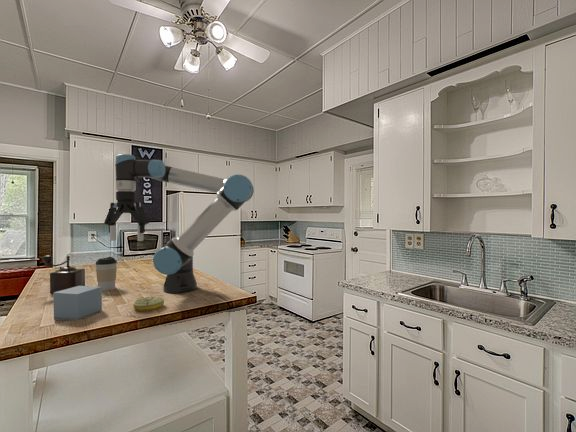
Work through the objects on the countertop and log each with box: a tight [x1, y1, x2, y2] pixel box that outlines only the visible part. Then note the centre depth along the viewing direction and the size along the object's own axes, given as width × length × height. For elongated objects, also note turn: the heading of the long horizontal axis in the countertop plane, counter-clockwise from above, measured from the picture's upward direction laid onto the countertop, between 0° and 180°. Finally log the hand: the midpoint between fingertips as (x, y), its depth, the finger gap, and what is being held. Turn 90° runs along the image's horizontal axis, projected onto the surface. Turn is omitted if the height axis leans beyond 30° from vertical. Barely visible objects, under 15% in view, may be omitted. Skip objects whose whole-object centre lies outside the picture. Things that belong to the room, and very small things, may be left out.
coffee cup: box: [95, 256, 118, 292], centre depth 146 cm, size 9×9×15 cm
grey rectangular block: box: [52, 285, 103, 320], centre depth 110 cm, size 10×10×9 cm
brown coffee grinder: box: [41, 254, 86, 294], centre depth 142 cm, size 16×11×18 cm
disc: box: [53, 310, 102, 322], centre depth 110 cm, size 14×14×1 cm
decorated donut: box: [132, 296, 165, 313], centre depth 116 cm, size 10×11×4 cm
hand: (126, 240), depth 129 cm, fingers open, 13 cm apart
